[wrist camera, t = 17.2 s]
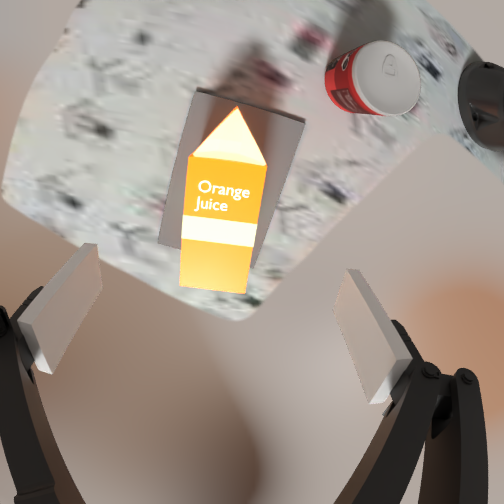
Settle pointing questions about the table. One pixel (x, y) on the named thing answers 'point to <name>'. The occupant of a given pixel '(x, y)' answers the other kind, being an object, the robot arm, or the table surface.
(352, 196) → the table surface
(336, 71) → the canned food
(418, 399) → the robot arm
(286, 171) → the mat
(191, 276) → the orange juice
